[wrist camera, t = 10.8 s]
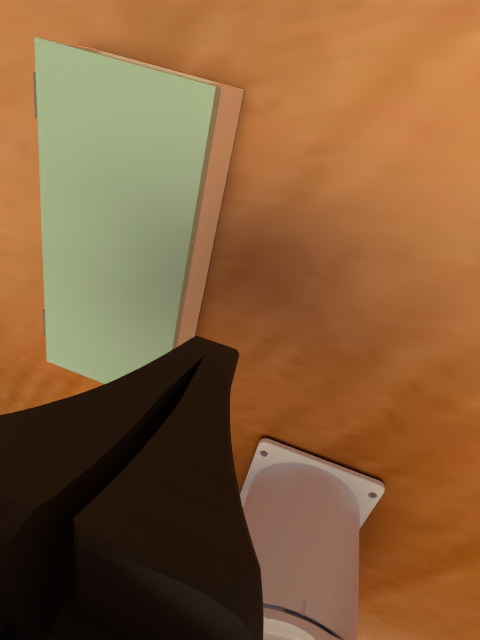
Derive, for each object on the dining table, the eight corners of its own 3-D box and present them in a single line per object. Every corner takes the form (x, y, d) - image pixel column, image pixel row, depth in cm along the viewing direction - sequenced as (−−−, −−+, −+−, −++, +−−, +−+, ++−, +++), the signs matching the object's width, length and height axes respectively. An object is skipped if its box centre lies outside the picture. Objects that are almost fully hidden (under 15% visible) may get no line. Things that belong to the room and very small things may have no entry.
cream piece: (188, 367, 24) (168, 398, 22) (77, 326, 25) (44, 351, 23) (244, 89, 17) (222, 87, 14) (80, 44, 17) (31, 35, 15)
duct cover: (167, 399, 22) (162, 406, 21) (54, 355, 23) (46, 361, 22) (221, 87, 14) (215, 86, 13) (45, 39, 15) (34, 36, 14)
